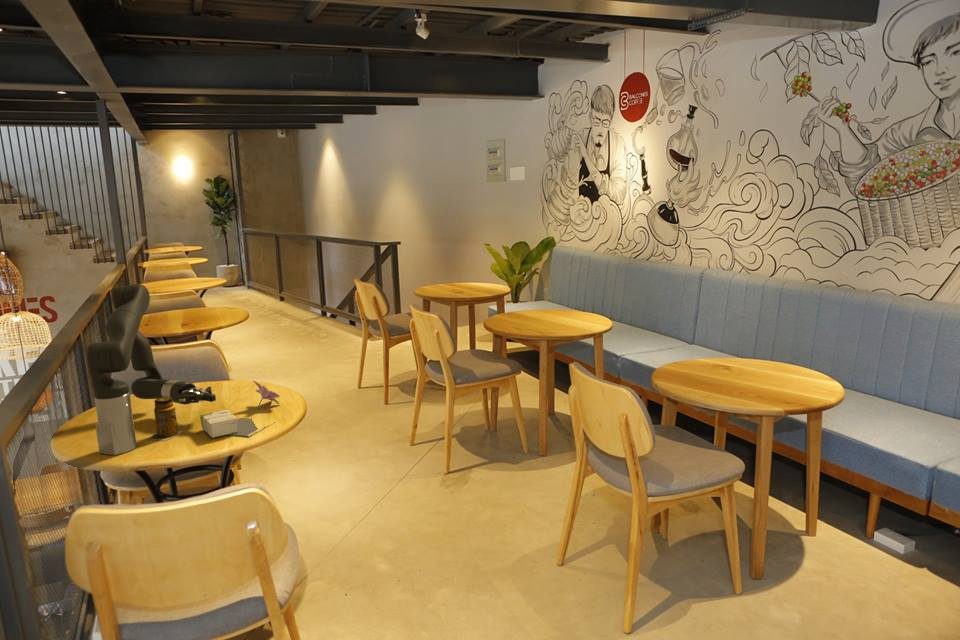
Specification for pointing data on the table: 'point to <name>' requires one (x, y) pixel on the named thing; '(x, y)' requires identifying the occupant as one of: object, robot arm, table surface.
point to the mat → (245, 428)
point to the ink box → (219, 423)
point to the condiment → (165, 419)
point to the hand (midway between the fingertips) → (213, 398)
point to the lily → (266, 393)
